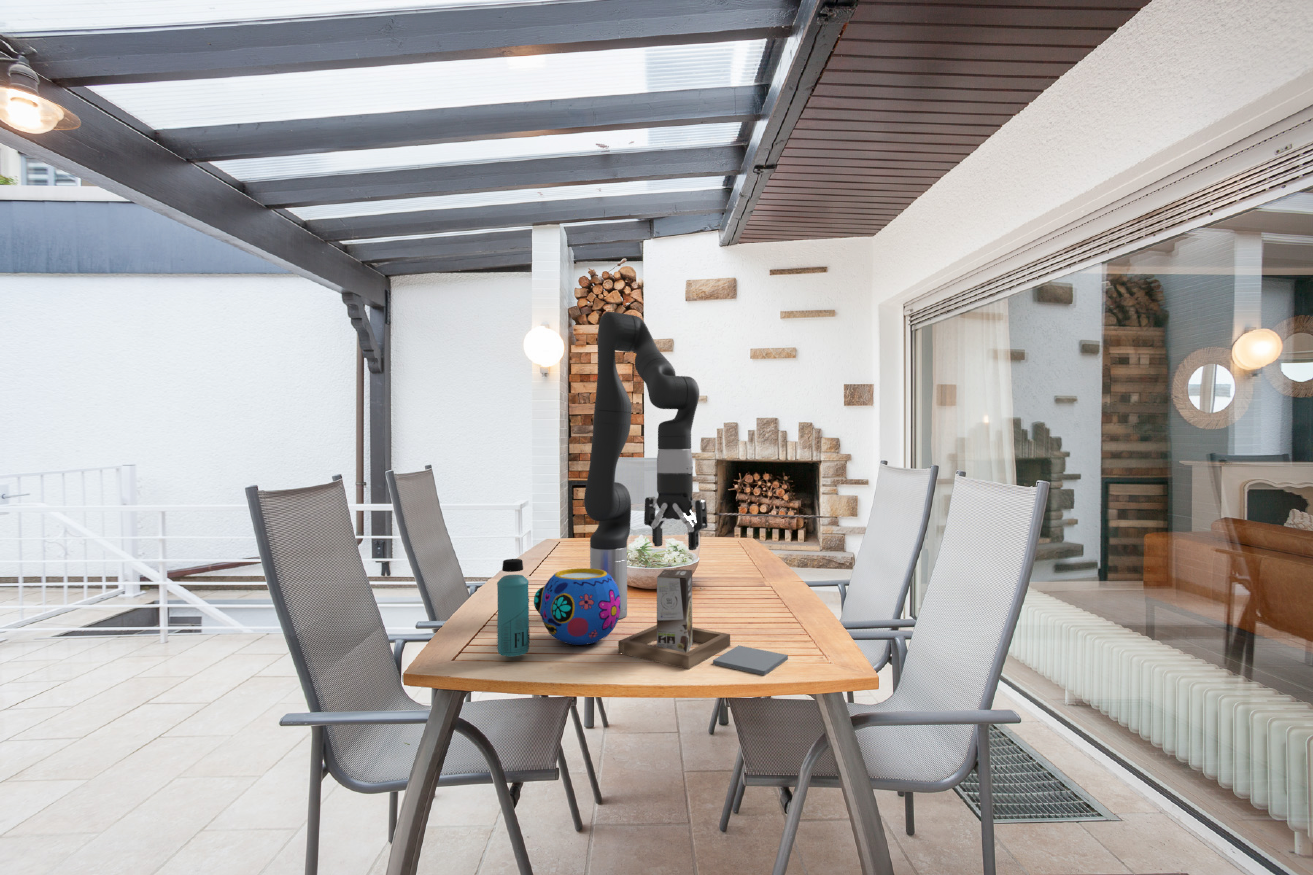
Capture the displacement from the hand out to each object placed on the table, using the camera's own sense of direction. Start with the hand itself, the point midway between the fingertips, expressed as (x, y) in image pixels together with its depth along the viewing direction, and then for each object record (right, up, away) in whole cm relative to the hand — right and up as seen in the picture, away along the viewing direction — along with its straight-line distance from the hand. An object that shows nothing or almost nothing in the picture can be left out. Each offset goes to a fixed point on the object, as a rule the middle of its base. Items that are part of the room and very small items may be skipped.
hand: (675, 547), depth 137 cm
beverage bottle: (-33, -22, -6) cm, 40 cm away
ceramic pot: (-21, -22, +5) cm, 30 cm away
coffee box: (0, -22, 0) cm, 22 cm away
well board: (0, -21, 0) cm, 21 cm away
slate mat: (+15, -21, -8) cm, 27 cm away
